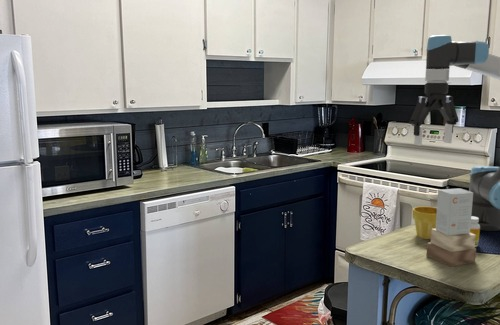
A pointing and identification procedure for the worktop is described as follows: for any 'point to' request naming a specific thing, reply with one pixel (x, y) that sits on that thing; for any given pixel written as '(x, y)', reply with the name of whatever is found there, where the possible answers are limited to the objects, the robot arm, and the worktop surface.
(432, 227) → the plant pot
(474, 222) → the supplement bottle
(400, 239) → the worktop surface
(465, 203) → the small box
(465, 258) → the walnut slab
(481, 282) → the worktop surface
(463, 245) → the maple slab
